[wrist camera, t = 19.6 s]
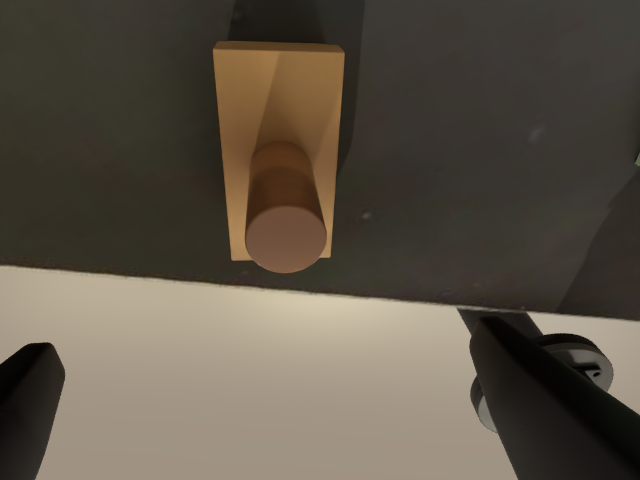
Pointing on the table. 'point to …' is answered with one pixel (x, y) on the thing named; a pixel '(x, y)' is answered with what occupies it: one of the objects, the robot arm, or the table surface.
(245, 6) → the table surface
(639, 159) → the tray
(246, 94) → the brush
